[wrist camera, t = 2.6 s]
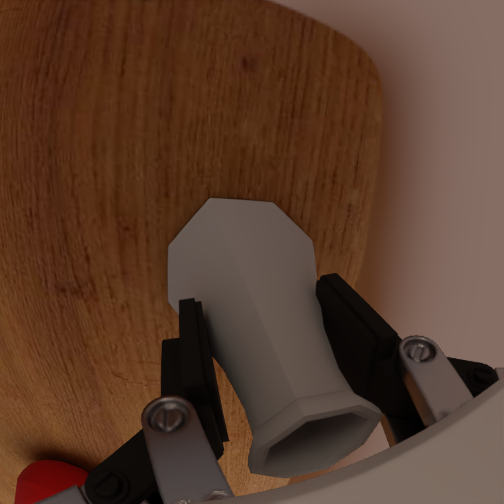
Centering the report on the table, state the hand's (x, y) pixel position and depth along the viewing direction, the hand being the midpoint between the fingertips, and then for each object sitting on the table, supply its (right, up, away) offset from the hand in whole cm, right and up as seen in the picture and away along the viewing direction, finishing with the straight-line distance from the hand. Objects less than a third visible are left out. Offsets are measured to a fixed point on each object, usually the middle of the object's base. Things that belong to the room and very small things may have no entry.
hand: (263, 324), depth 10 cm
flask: (-1, +2, +4) cm, 5 cm away
